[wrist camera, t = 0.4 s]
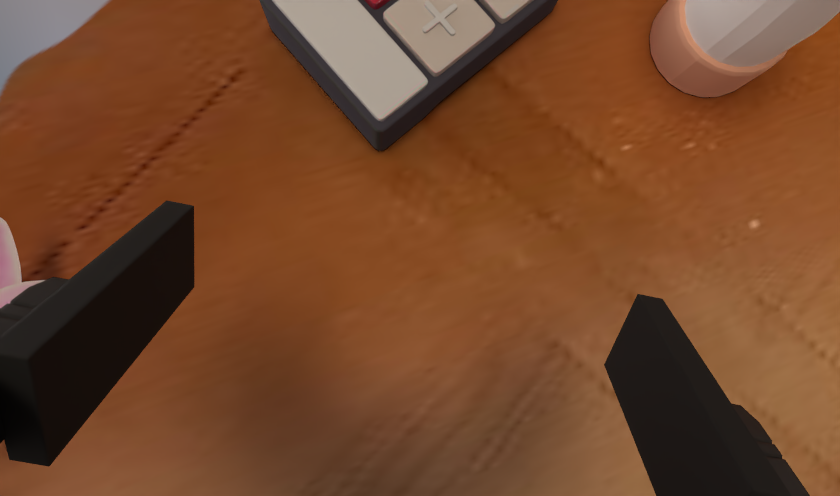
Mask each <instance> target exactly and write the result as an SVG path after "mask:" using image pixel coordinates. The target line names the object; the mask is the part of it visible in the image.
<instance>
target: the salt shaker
mask: <svg viewBox="0 0 840 496" xmlns="http://www.w3.org/2000/svg"><path fill="white" fill-rule="evenodd" d="M839 12H840V0H668V1H667V2H666V3H665V5H664V6H663V7H662V8H661V10H660V11H659V13H658V14H657V16H656V18H655V19H654V21H653V24H652V28H651V33H650V37H649V38H650V49H651V55H652V57H653V60H654V62H655V64H656V67H657V69H658V70H659V72H660V73H661V74H662V75H663V76H664V77H665V79H666V80H667V81H668V82H669V83H670V84H672V85H673V86H675V87H676V88H678V89H679V90H681V91H683V92H684V93H687V94H691V95H695V96H698V97H719V96H722V95H725V94H727V93H730V92H733V91H735V90H737V89H738V88H740V87H741V86H743V85H745V84H746V83H748V82H749V81H751V80H753V79H754V78H756V77H757V76H759V75H760V74H762V73H764V72H765V71H767V70H768V69H770V68H771V67H772V66H773V65H775V64H776V63H777V62H778V61H780V60H781V59H782V58H783V57H784V56H785V54H786V52H787V51H788V49H789V48H791V47H792V46H794V45H796V44H797V43H799V42H801V41H802V40H804V39H806V38H807V37H809V36H811V35H812V34H814V33H815V32H817V31H818V30H819V29H820V28H822V27H823V26H824V25H825V24H826V23H828V22H829V21H830V20H831V19H832V18H833V17H834V16H836V15H837V14H838V13H839Z"/></svg>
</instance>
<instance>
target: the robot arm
mask: <svg viewBox="0 0 840 496" xmlns="http://www.w3.org/2000/svg"><path fill="white" fill-rule="evenodd" d="M193 288H194V206H192V205H187V204H182V203H176V202H171V201H166V202H164V203H163V204H162V205H161V206H159V207H158V208H157V209H156V210H154V211H153V212H152V213H151V214H150V215H148V216H147V217H146V218H145V219H143V220H142V221H141V222H140V223H138V224H137V225H136V226H135V227H134V228H132V229H131V230H130V231H129V232H127V233H126V234H125V235H124V236H122V237H121V238H120V239H119V240H118V241H116V242H115V243H114V244H113V245H111V246H110V247H109V248H108V249H106V250H105V251H104V252H103V253H101V254H100V255H99V256H98V257H97V258H95V259H94V260H93V261H92V262H90V263H89V264H88V265H87V266H85V267H84V268H83V269H82V270H81V271H79V272H78V273H77V274H76V275H74V276H73V277H72V278H71V279H69V280H67V279H62V278H57V277H52V278H50V279H47V280H45V281H42V282H40V283H37V284H35V285H33V286H30V287H28V288H27V289H26V290H24V291H23V292H22V293H20V294H19V295H18V296H16V297H15V298H14V299H12V300H11V302H10V304H8V303H7V304H6V305H4V306H3V307H2V308H0V443H1V442H2V441H3V440H5V444H6V448H7V452H8V456H9V460H15V461H20V462H26V463H32V464H38V465H44V466H50V465H51V464H52V462H53V461H54V460H55V459H56V457H57V456H58V455H59V454H60V452H61V451H62V450H63V449H64V447H65V446H66V445H67V444H68V443H69V441H70V440H71V439H72V438H73V436H74V435H75V434H76V433H77V431H78V430H79V429H80V428H81V426H82V425H83V424H84V423H85V421H86V420H87V419H88V418H89V417H90V415H91V414H92V413H93V412H94V410H95V409H96V408H97V407H98V405H99V404H100V403H101V402H102V400H103V399H104V398H105V397H106V395H107V394H108V393H109V392H110V390H111V389H112V388H113V387H114V386H115V384H116V383H117V382H118V381H119V379H120V378H121V377H122V376H123V374H124V373H125V372H126V371H127V369H128V368H129V367H130V366H131V364H132V363H133V362H134V361H135V359H136V358H137V357H138V356H139V355H140V353H141V352H142V351H143V350H144V348H145V347H146V346H147V345H148V343H149V342H150V341H151V340H152V338H153V337H154V336H155V335H156V333H157V332H158V331H159V330H160V329H161V327H162V326H163V325H164V324H165V322H166V321H167V320H168V319H169V317H170V316H171V315H172V314H173V312H174V311H175V310H176V309H177V307H178V306H179V305H180V304H181V302H182V301H183V300H184V299H185V298H186V296H187V295H188V294H189V293H190V291H191V290H192V289H193ZM604 365H605V368H606V370H607V373H608V375H609V378H610V380H611V383H612V385H613V388H614V390H615V393H616V396H617V398H618V401H619V403H620V406H621V408H622V411H623V413H624V416H625V418H626V421H627V423H628V426H629V428H630V431H631V433H632V436H633V438H634V441H635V443H636V446H637V448H638V451H639V453H640V456H641V458H642V461H643V463H644V466H645V468H646V471H647V473H648V476H649V478H650V481H651V483H652V486H653V488H654V491H655V493H656V496H810V495H809V494H808V492H807V491H806V489H805V488H804V486H803V485H802V484H801V482H800V481H799V479H798V478H797V476H796V475H795V473H794V472H793V471H792V469H791V468H790V466H789V465H788V463H787V462H786V460H784V459H782V455H781V453H780V452H779V450H778V449H777V447H776V446H775V445H774V444H772V440H771V439H770V437H769V436H768V434H767V433H766V431H765V430H764V429H763V427H762V426H761V424H760V423H759V422H758V421H757V420H756V419H755V418H754V417H753V416H752V415H750V414H749V413H748V412H747V411H746V410H745V409H744V408H743V407H742V406H741V405H735V404H731V403H730V401H729V400H728V398H727V397H726V395H725V393H724V392H723V390H722V389H721V387H720V386H719V384H718V383H717V381H716V380H715V378H714V377H713V375H712V374H711V372H710V371H709V369H708V368H707V366H706V365H705V363H704V361H703V360H702V358H701V357H700V355H699V354H698V352H697V351H696V349H695V348H694V346H693V345H692V343H691V342H690V340H689V339H688V337H687V336H686V334H685V333H684V331H683V329H682V328H681V326H680V325H679V323H678V322H677V320H676V319H675V317H674V316H673V314H672V313H671V311H670V310H669V308H668V307H667V305H666V304H665V302H664V301H663V299H660V298H655V297H650V296H645V295H640V294H638V295H637V297H636V299H635V301H634V303H633V305H632V307H631V309H630V311H629V314H628V316H627V318H626V320H625V322H624V324H623V326H622V328H621V330H620V333H619V335H618V337H617V339H616V341H615V343H614V345H613V347H612V350H611V352H610V354H609V356H608V358H607V360H606V362H605V364H604Z"/></svg>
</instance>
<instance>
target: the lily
mask: <svg viewBox="0 0 840 496" xmlns="http://www.w3.org/2000/svg"><path fill="white" fill-rule="evenodd" d="M21 281H22V277H21V268H20V262H19V258H18V254H17V249H16V246H15V243H14V240H13V237H12V234H11V231H10V229H9V227H8V225H7V223H6V222H5V221H4V220H3V219H2V218H0V308H2V307H3V306H4V305H6V304H7V303H8V304H10V302H11V300H12V299H14V298H15V297H16V296H18V295H19V294H20V293H22V292H23V291H24V290H26V289H27V288H28V287H30V286H33V285H35V284H37V283H40V282H42V281H45V280H38V281H28V282H21Z"/></svg>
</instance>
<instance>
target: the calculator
mask: <svg viewBox="0 0 840 496" xmlns="http://www.w3.org/2000/svg"><path fill="white" fill-rule="evenodd" d="M557 1H558V0H260V3H261V5H262V8H263V10H264V13H265V15H266V18H267V20H268V23H269V25H270V28H271V29H272V31H273V32H274V33H275V35H276V36H277V37H278V38H279V39H280V40H281V41H282V43H283V44H284V45H285V46H286V47H287V48H288V49H289V51H290V52H291V53H292V54H293V55H294V56H295V57H296V59H297V60H298V61H299V62H300V63H301V64H302V65H303V67H304V68H305V69H306V70H307V71H308V72H309V73H310V75H311V76H312V77H313V78H314V79H315V80H316V82H317V83H318V84H319V85H320V86H321V87H322V88H323V90H324V91H325V92H326V93H327V94H328V95H329V96H330V98H331V99H332V100H333V101H334V102H335V103H336V104H337V106H338V107H339V108H340V109H341V110H342V111H343V112H344V114H345V115H346V116H347V117H348V118H349V119H350V120H351V122H352V123H353V124H354V125H355V126H356V127H357V129H358V130H359V131H360V132H361V133H362V134H363V135H364V137H365V138H366V139H367V140H368V141H369V142H370V143H371V145H372V146H373V147H374V148H375V149H376V150H379V151H382V150H385V149H386V148H387V147H389V146H390V145H391V144H392V143H394V142H395V141H396V140H397V139H399V138H400V137H401V136H402V135H403V134H405V133H406V132H407V131H408V130H410V129H411V128H412V127H413V126H415V125H416V124H417V123H418V122H419V121H421V120H422V119H423V118H424V117H425V116H426V115H427V114H428V113H429V112H430V111H431V110H432V109H433V108H434V107H435V106H436V105H437V104H438V103H439V102H440V101H442V100H443V99H444V98H445V97H447V96H448V95H449V94H450V93H452V92H453V91H454V90H455V89H457V88H458V87H459V86H460V85H461V84H463V83H464V82H465V81H466V80H468V79H469V78H470V77H471V76H473V75H474V74H475V73H476V72H478V71H479V70H480V69H481V68H483V67H484V66H485V65H486V64H487V63H489V62H490V61H491V60H492V59H494V58H495V57H496V56H497V55H499V54H500V53H501V52H502V51H504V50H505V49H506V48H507V47H508V46H510V45H511V44H512V43H513V42H515V41H516V40H517V39H518V38H520V37H521V36H522V35H523V34H525V33H526V32H527V31H528V30H530V29H531V28H532V27H533V26H534V25H536V24H537V23H538V22H539V21H541V20H542V19H543V18H544V17H546V16H547V15H548V14H549V13H550V12H551V11H552V10H553V8H554V6H555V5H556V3H557Z"/></svg>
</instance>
